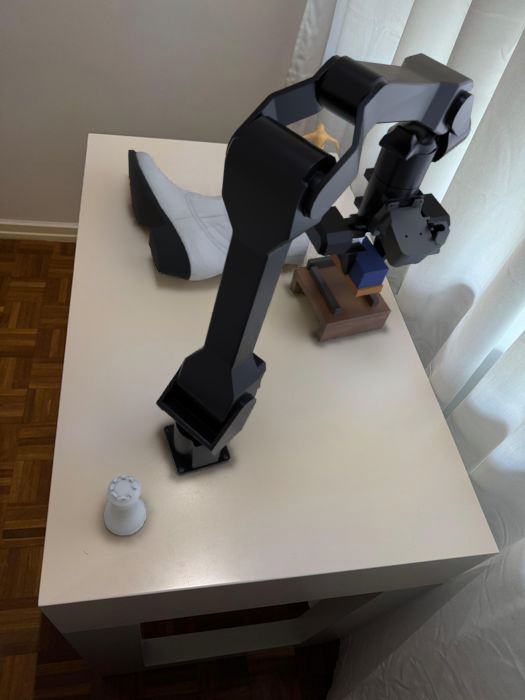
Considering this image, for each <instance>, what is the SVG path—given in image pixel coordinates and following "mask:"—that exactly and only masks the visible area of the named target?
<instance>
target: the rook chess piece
mask: <svg viewBox="0 0 525 700" xmlns="http://www.w3.org/2000/svg"><path fill="white" fill-rule="evenodd" d="M140 495H141V485H140V482H139V481H138V480H137V479H136V478H135V477H134V476H130V475H128V474H120V475H118V476H116V477H114V478H112V480H111V481H109V483H108V485H107V488H106V496H107V499H108V502H107V503H106V505H105V508H104V514H103V521H104V524H105V526H106V528H107V529H108V530H109V531H110V532H111V533H112V534H116V535H118V536H130V535H133V534H135V533H137V532H138V531H140V529H141V528H142V527H143V526H144V524H145V521H146V519H147V509H146V505H145V503H144V501H143V499H142V498H140Z"/></svg>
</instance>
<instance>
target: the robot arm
mask: <svg viewBox="0 0 525 700" xmlns="http://www.w3.org/2000/svg"><path fill="white" fill-rule="evenodd" d="M474 85H475V84H474V80H473V79H472V78H470V77H468V76H466V75H465V74H463V73H462V72H460V71H457V70H455V69H454V68H452V67H449V66H448V65H446V64H444V63H442V62H440V61H438V60H436V59H435V58H432V57H430V56H428V55H427V54H425V53H423V52H420V53H415V54H412V55H408V56H406V57H405V58H404V59H403V61H402V63H401V65H395V64H387V63H380V62H372V61H364V60H356V59H353V58H352V57H351V56H348V55H339V54H335V55H331V56H330V57H329V58H328V59H327V60H326V61H325V62H324V63H323V64H322V66H321V67H319V69H318V70H317V71H316V72H314V74H313V76H310V77H308V78H305V79H303V80H300V81H298V82H296V83H293V84H290V85H288V86H285V87H282V88H281V89H278V90H276V91H275V90H274V91H273V92H271V93H270V94H267V96H266V97H265V98H264V99H263V100H262V101H261V103H259V105H258V106H257V107H256V108H255V109H254V110H253V111H252V112H251V113H250V114H249V116H248V117H246V119H245V120H244V121H243V122H242V123H241V124H240V125H239V126H238V128H237V129H236V130H235V131H234V132H233V134H232V135H231V137H230V139H229V141H228V143H227V145H226V149H225V157H224V163H223V172H222V183H221V196H222V198H223V202H224V205H225V208H226V211H227V214H228V217H229V220H230V224H231V227H232V236H231V240H230V244H229V248H228V252H227V256H226V260H225V264H224V268H223V272H222V273H221V276H220V280H219V284H218V288H217V291H216V295H215V299H214V303H213V307H212V311H211V315H210V319H209V323H208V327H207V331H206V335H205V339H204V342H203V345H202V346H200V347H199V348H198V349H196V350H194V351H193V352H192V353H190V354H189V355H187V356H186V357H185V358H184V359H183V360H182V363H181V364H180V366H179V368H178V369H177V371H176V372H175V374H174V375H173V377H172V378H171V379H170V381H169V383H168V384H167V386H166V387H165V388H164V390H163V391H162V393H161V394H160V396H159V397H158V399H157V400H156V402H155V405H156V406H157V407H158V408H159V409H160V410H161V411H162V412H164V413H165V414H167V415H168V416H169V417H170V418H171V419H172V420H173V421H174V422H173V423H172V424H167V425H165V426H164V427H163V433H164V437H165V439H166V443H167V446H168V449H169V452H170V455H171V458H172V461H173V465H174V467H175V471H176V473H177V474H178V475H179V476H184V475H188V474H191V473H193V472H197V471H201V470H204V469H208V468H211V467H215V466H219V465H222V464H225V463H228V462H230V461H231V454H230V452H229V449H228V447H227V445H228V443H229V442H231V441H232V440H233V439H234V438H235V437H236V436H237V435H238V434H239V433H240V432H241V431H242V430H243V428H244V426H245V425H246V423H247V421H248V419H249V416H251V413H252V411H253V410H254V407H255V406H256V403H257V398H256V396H257V394H258V390H259V389H260V388H261V384H262V379H263V377H264V375H265V374H266V371H267V362H266V361H265V360H264V359H262V358H261V357H260V356H258V355H257V354H256V352H254V350H255V348H256V346H257V345H256V344H257V342H258V339H259V337H260V333H261V330H262V327H263V325H264V322H265V319H266V316H267V313H268V311H269V308H270V304H271V302H272V299H273V296H274V294H275V290H276V288H277V285H278V282H279V280H280V276H281V273H282V271H283V267H284V265H285V264H284V262H285V259H286V256H287V254H288V251H289V248H290V245H291V243H292V241H293V240H294V239H295V238H297V237H298V236H300V235H301V234H303V233H304V232H305V233H306V235H307V236H308V238H309V240H310V243H311V245H312V246H313V248H314V250H315V252H316V253H317V255H320V256H321V257H324V256H330V255H335V254H339V257H340V263H341V270H342V272H343V273H344V275H348V273H349V272H350V270H351V268H352V266H353V264H354V261H355V259H356V257H357V255H358V253H362V252H366V249H365V248H364V246H363V245H362V241H363V239H364V238H365V236H367V235H371V237H374V239H373V243H372V244H373V246H374V247H375V249H376V250H377V252H378V253H379V255H380V256H381V257H382V259H383V260H384V262H385V261H387V263H388V265H390V267H392V268H400V267H403V266H408V265H417V264H420V263H421V262H422V261H424V260H425V259H426V258H428V257H429V256H433V255H439V254H440V253H441V248H442V247H443V246H444V245H445V244H446V242H447V240H448V238H449V235H450V232H451V229H450V227H451V224H452V221H451V215H450V214H449V213H448V211H447V210H446V209H445V208H444V206H443V205H442V204H441V203H440V201H439V199H437V198H436V197H435V195H434V194H433V193H432V192H430V193H429V192H428V193H423V191H422V190H421V189H420V187H421V185H422V184H423V181H424V178H425V176H426V175H427V173H428V170H429V168H430V165H431V163H437V162H439V161H440V160H441V159H443V158H444V157H445V156H446V155H448V154H449V153H450V152H452V151H453V150H454V149H455V148H457V147H458V146H460V144H462V143H463V142H464V141H465V140H466V139H467V138H468V137H469V135H470V133H471V130H472V117H471V116H472V111H473V107H474V105H473V104H474V101H475V100H474V99H475V95H474V94H472V93H471V91H472V89H474V87H475V86H474ZM323 109H325V110H326V111H328V112H330V113H332V114H333V115H335V116H336V117H338V118H339V119H341V120H343V121H345V122H347V123H348V124H350V125H351V126H353V127H354V129H353V135H352V140H351V145H350V147H349V148H348V149H347V150H346V151H345V152H344V153H343V155H341V157H340V158H339V159H338V160H337V158H336V156H334V155H333V154H331V153H329V152H328V151H326V150H325V149H324V148H323V149H321V148H320V147H318V146H317V145H315V144H313V141H312V142H311V140H308V139H305V138H304V137H302V136H303V135H300V134H299V133H297V132H296V131H294V130H292V129H290V128H289V127H288V126H289V125H292V124H294V123H295V124H296V123H297V122H300V121H302V120H306V119H307V118H310V117H312V116H315V115H316V114H319V113H320V112H321V111H322V110H323ZM393 123H394V124H393ZM379 124H381V125H382V124H393V125H391V126H390V127H389V128H388V129H387V132H386V133H385V134H384V135H383V136H382V137H381V138H380V140H379V141H378V146H379V147H380V149H379V152H378V155H377V158H376V161H375V163H374V166H373V167H367V168H365V170H364V173H363V175H362V176H363V177H364V179H365V180H366V181H367V185H366V188H365V190H364V193H363V195H359V196H355V198H354V200H353V205H354V206H355V208H356V209H357V212H356V213H349V214H348V217H344V216H343V214H342V213H341V212H340V210H339V209H338V207H337V205H334V204H335V203H336V202H337V201H338V199H339V198H340V197H341V196H342V195H343V194H344V193H345V192H346V190H347V189H348V188H349V187H350V186H351V184H352V183H353V182H354V181H355V180H356V179H357V177H358V174H359V170H360V162H361V157H362V151H363V144H364V139H365V137H366V136H367V135H368V134H369V132H370V131H371V130H372V129H373V128H374V127H375V126H376V125H379ZM225 457H226V458H225ZM181 470H182V471H181Z"/></svg>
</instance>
